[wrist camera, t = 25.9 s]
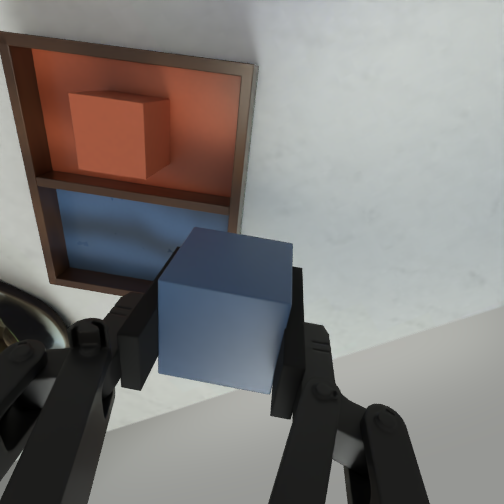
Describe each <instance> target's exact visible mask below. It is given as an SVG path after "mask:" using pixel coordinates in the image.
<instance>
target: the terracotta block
mask: <svg viewBox="0 0 504 504" xmlns="http://www.w3.org/2000/svg"><path fill="white" fill-rule="evenodd" d="M68 95H69V102H70V109H71V116H72V124H73V131H74V138H75V146H76V153H77V160H78V167H79V169H80V170H86V171H93V172H99V173H106V174H112V175H119V176H125V177H132V178H139V179H145V180H146V179H148V178H149V177H151V176H152V175H154V174H155V173H157V172H158V171H160V170H161V169H163V168H164V167H166V166H167V165H169V164H170V99H167V98H160V97H152V96H145V95H138V94H131V93H123V92H116V91H109V90H105V91H87V92H69V93H68Z"/></svg>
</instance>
